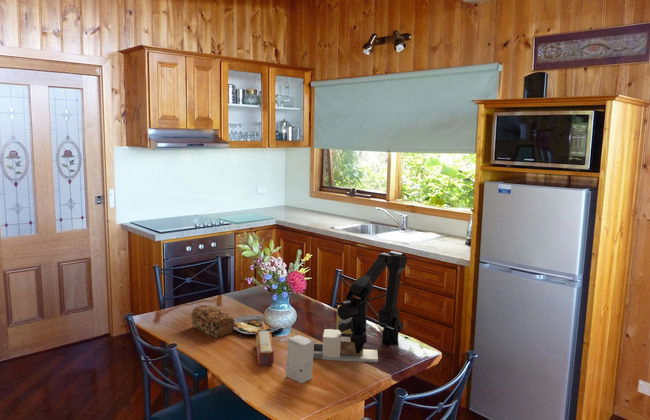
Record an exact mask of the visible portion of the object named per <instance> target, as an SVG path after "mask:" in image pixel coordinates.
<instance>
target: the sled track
mask: <svg viewBox="0 0 650 420" xmlns="http://www.w3.org/2000/svg"><path fill="white" fill-rule="evenodd" d="M341 333H342V332H340V330H336V329H328V328H327V329H326V328H325V329H324V330H323V335H322V343H320V342H319V343H316V342H314V353H313V360H327V361H330V360H331V361H342V362H344V361H345V362H362V363H375V364H377V363H378V362H379V355H378V349H364V348H363V356H358V355H341V354H340V345H341V337H342V334H341Z"/></svg>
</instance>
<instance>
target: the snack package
mask: <svg viewBox="0 0 650 420" xmlns="http://www.w3.org/2000/svg"><path fill="white" fill-rule="evenodd" d="M272 336H273V335H272V332H271V333H270V332H269V331H259V332H258V333H257V334H256V335H255V345H256V346H255V347H256V355H257V363H258V365H259V366H260V367H269V366H272V365H273V364H274V362H275V351H274V342H273V338H272Z"/></svg>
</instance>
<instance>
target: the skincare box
mask: <svg viewBox="0 0 650 420" xmlns="http://www.w3.org/2000/svg"><path fill="white" fill-rule="evenodd" d="M314 343H315V340H312V339H309V338H307V337H306V336H302V335H299V334H297V335H294V336H291V337H289V338H288V341H287V353H286V354H287V355H286V370H285V377H287V378H289V379H291V380H293V381H296V382H298V383H299V384H304V383H305V382H308V381H310V380H311V379H313V367H314V365H313V364H314V363H313V362H314V359H313V353H314Z"/></svg>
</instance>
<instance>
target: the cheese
mask: <svg viewBox="0 0 650 420" xmlns="http://www.w3.org/2000/svg"><path fill="white" fill-rule="evenodd" d="M340 305H341V304H339V305H338V306H337V308H338V307H339V306H340ZM341 320H342V319H341V318H340V317H339V316H338V313H337V312H336V328H335V330H339V327H338V321H341ZM351 333H352V332H351V329H349V330H345V331H343V332H342V333H341V335H342V334H344V335H351Z"/></svg>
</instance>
